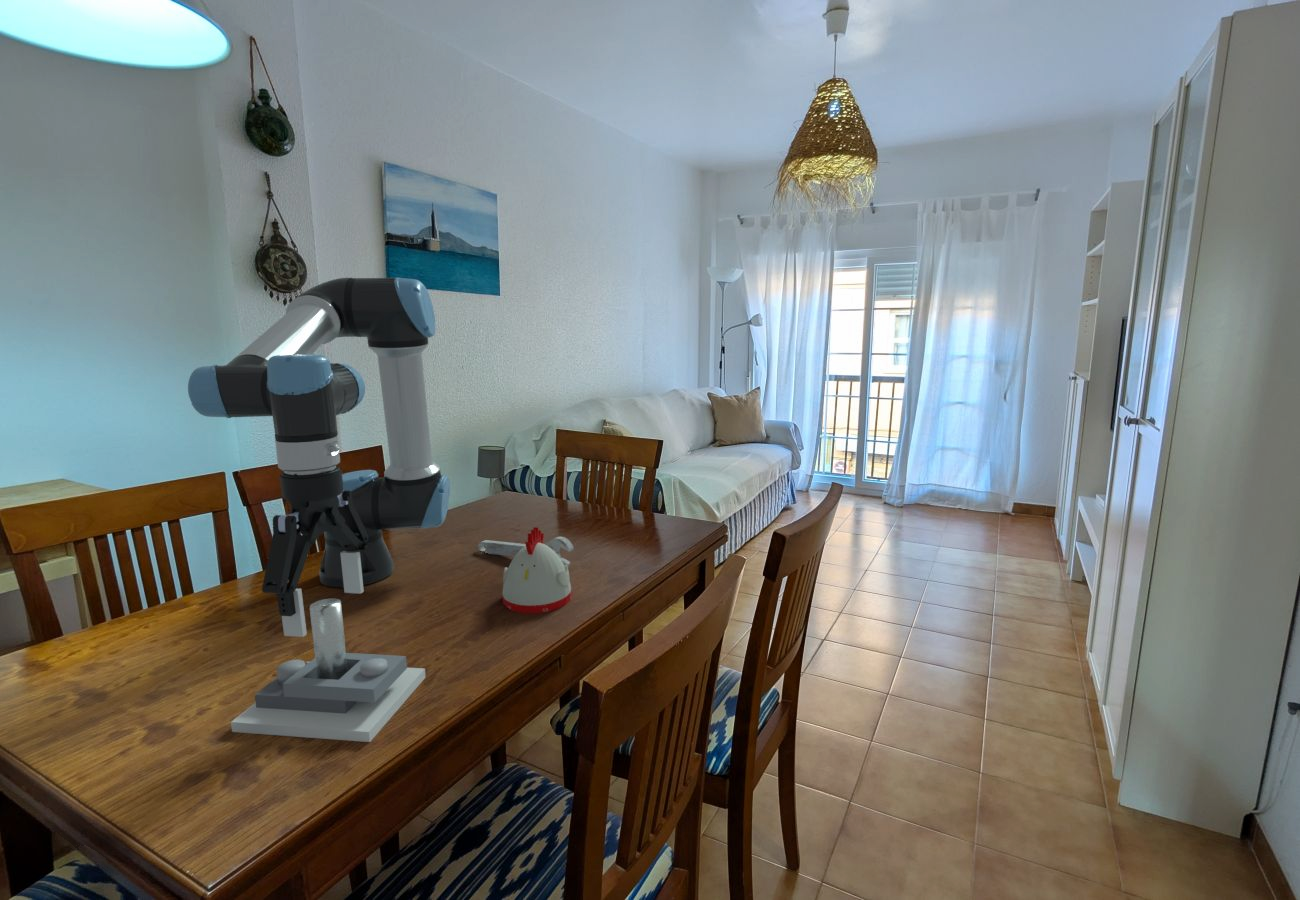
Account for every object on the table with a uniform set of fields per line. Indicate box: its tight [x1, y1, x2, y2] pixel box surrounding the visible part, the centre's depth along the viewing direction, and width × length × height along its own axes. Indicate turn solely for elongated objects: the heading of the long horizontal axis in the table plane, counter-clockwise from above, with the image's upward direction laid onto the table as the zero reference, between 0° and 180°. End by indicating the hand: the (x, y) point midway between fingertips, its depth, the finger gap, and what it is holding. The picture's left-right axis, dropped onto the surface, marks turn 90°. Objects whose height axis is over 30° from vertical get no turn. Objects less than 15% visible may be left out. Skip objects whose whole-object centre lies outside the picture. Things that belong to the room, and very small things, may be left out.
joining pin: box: [309, 597, 348, 680], centre depth 91 cm, size 4×4×14 cm
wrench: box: [477, 536, 575, 567], centre depth 148 cm, size 8×2×30 cm
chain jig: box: [230, 652, 426, 743], centre depth 92 cm, size 20×16×6 cm
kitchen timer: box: [502, 526, 572, 614], centre depth 127 cm, size 14×14×15 cm
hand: (327, 612), depth 90 cm, fingers open, 13 cm apart
